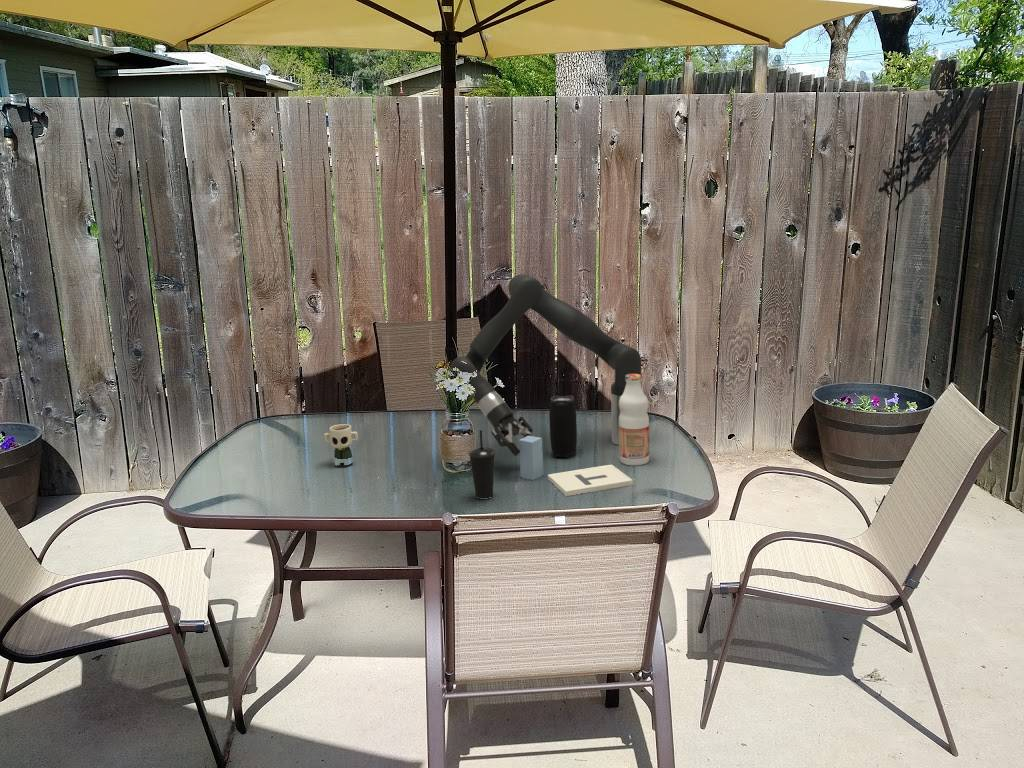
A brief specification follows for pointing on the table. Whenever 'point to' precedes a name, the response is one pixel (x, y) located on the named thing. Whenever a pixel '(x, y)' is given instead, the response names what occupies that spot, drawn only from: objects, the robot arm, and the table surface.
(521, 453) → the slate pillar
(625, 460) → the fruit juice
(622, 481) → the letter board
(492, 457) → the drinking cup
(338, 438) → the character mug
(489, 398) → the robot arm
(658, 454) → the table surface
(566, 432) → the portable speaker
